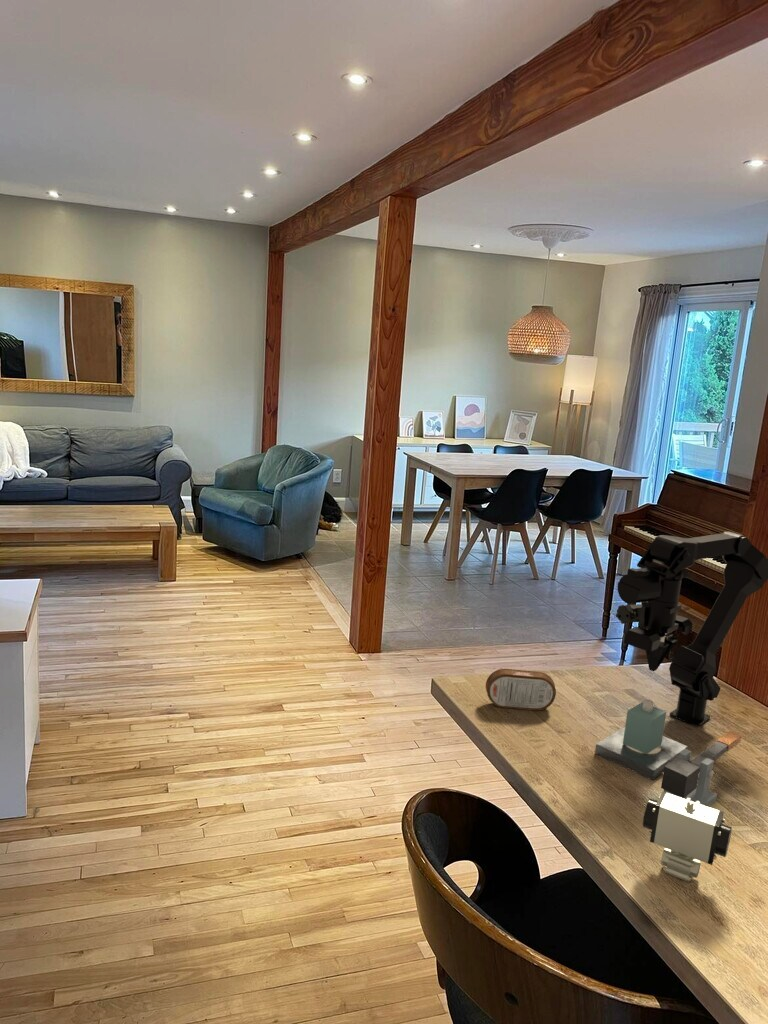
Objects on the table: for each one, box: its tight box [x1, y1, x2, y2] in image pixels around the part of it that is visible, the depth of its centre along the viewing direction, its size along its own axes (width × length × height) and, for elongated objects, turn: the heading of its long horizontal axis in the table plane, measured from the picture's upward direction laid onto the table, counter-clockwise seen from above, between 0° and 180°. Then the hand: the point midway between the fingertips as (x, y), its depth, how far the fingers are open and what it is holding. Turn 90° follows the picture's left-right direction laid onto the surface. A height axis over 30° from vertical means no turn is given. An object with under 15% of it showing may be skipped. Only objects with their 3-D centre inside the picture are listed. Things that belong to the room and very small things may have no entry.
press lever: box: [660, 730, 742, 798], centre depth 139 cm, size 26×4×4 cm, turn 134°
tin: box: [485, 668, 557, 711], centre depth 166 cm, size 15×3×8 cm, turn 87°
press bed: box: [594, 726, 689, 781], centre depth 150 cm, size 14×12×2 cm
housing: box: [623, 699, 667, 754], centre depth 149 cm, size 6×5×9 cm
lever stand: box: [662, 748, 718, 807], centre depth 136 cm, size 6×7×8 cm
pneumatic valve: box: [642, 790, 733, 883], centre depth 115 cm, size 6×12×12 cm, turn 58°
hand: (652, 670), depth 159 cm, fingers closed
